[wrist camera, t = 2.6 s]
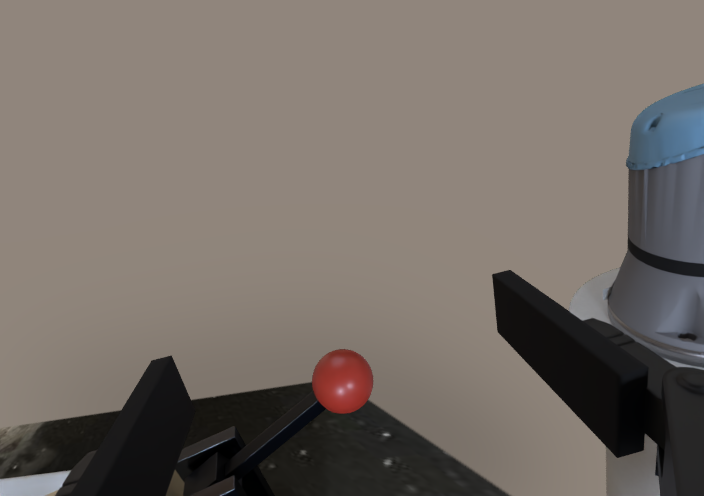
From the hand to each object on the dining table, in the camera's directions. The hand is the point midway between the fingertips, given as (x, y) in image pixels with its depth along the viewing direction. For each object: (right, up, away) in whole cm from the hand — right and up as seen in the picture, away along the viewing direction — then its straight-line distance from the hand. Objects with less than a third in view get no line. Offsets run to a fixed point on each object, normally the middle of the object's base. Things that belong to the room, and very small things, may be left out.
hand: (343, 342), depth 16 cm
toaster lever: (-3, -10, +11) cm, 15 cm away
